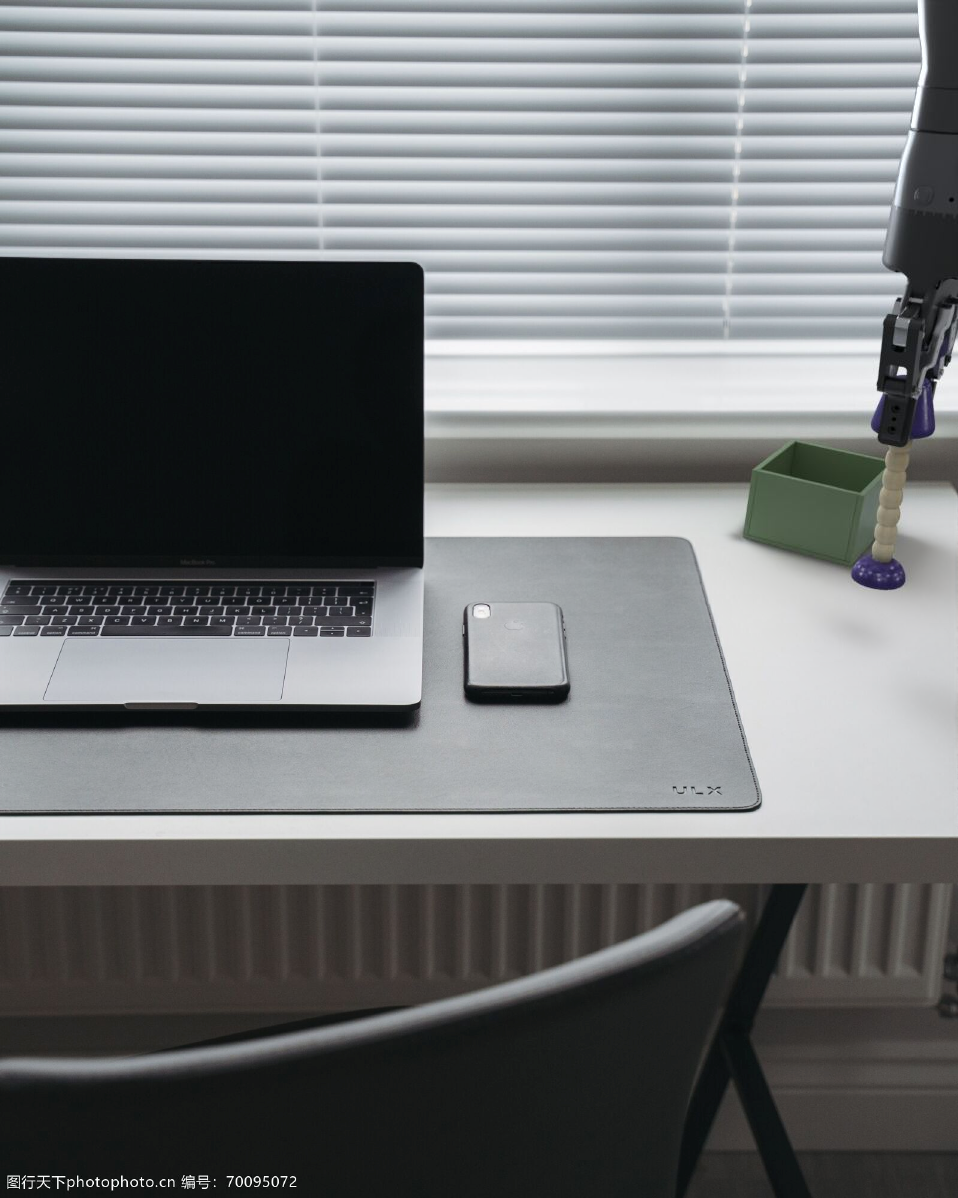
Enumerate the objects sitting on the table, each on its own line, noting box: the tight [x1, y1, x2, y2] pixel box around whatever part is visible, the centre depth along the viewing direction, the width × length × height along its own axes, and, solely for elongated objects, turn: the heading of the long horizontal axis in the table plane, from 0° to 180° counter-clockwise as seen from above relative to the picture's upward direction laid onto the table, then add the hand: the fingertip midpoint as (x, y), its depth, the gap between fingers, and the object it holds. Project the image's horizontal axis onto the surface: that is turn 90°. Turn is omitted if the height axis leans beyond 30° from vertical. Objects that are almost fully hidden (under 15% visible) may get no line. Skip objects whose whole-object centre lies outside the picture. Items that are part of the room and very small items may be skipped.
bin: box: [742, 438, 887, 567], centre depth 113 cm, size 11×11×8 cm
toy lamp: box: [850, 374, 936, 591], centre depth 86 cm, size 5×5×17 cm
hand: (902, 433), depth 85 cm, fingers closed on toy lamp, 4 cm apart
